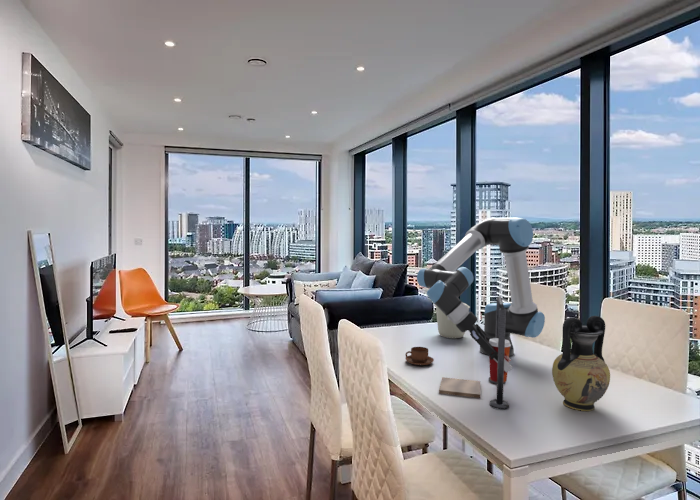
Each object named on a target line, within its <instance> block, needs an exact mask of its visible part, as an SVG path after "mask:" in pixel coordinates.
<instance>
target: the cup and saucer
mask: <svg viewBox="0 0 700 500" xmlns="http://www.w3.org/2000/svg"><path fill="white" fill-rule="evenodd" d="M408 354H410V355H408ZM434 360H435V359H434V358H433V357H431V356H429V348H427V347H426V346H425V347H424V346H414V347H411V348H410V350H409V351H407V352H405V361H406V362H407V363H408V364H411V365H415V366H428V365H430V364H432V363H433V362H434Z"/></svg>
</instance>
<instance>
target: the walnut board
mask: <svg viewBox="0 0 700 500" xmlns="http://www.w3.org/2000/svg"><path fill="white" fill-rule="evenodd" d="M438 394H441V395H442V394H443V395H449V396H458V397H459V396H460V397H468V398H477V399H481V381H480V380H473V379H464V378H453V377H444V376H442V377H441V380H440V386H439V389H438Z"/></svg>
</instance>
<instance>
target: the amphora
mask: <svg viewBox="0 0 700 500" xmlns="http://www.w3.org/2000/svg"><path fill="white" fill-rule="evenodd" d="M605 333H606V322H605V320H604V319H603V318H602V317H601V316H598V315H591V316H589V317H588V318H587V320H586V325H583V323H582V321H581V320H580V319H579V318H577V317H574V316H573V317H572V316H570V317H567V318H566V319H565V320H564V321H563V323H562V353H561V354H559V355H557V356H556V358H555V359H554V360H553V363H552V368H551V374H552V378H553V382H554V384H555V388H556V390H557V391H558V392H559V394H560V395H562V397H563V398H564V400H563V399H562V400H563V401H562V404H563V405H564V406H565V407H568V408H570V409H573V410H575V411H580V410H581V411H582V412H590V411H593V410H594V409H595V403H596V402H598V401H599V400H600V399H602V397H603V396H604V395H605V393H607V390H608V388H609V385H610V384H611V383H610V382H611V370H610V368H609V366H608V364H607V363H606V361H605V358H604V357H603V346H604V338H605ZM593 345H594V347H593ZM593 348H594V349H593Z"/></svg>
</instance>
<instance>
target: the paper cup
mask: <svg viewBox="0 0 700 500" xmlns="http://www.w3.org/2000/svg"><path fill="white" fill-rule="evenodd" d="M489 343H490V344H491V345H492V347H493V348H494V349H495V350H496V351H497V352H498V338H492V339H490V340H489ZM510 346H511V344H510V341H509V340H506V339H505V352H504V359H505V360H506V361H507V362H509V358H510V356H509V351H510ZM488 357H489V359H488V362H489V363H488V364H489V377H490V379H491V380H492V381H495V382H497V368H498V363H497V362H496V361H495V360H494V359H492V360H491V359H490V356H489V355H488ZM509 363H510V362H509ZM508 373H509V371H508V372H507V373H506V372H505V370H504V382H505V383H507V380H508Z"/></svg>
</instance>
